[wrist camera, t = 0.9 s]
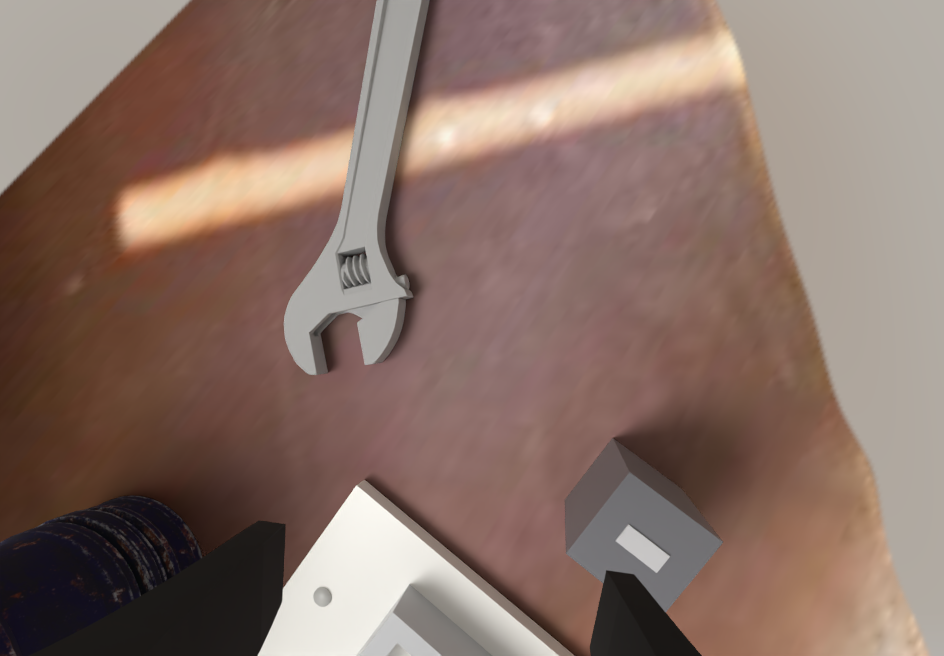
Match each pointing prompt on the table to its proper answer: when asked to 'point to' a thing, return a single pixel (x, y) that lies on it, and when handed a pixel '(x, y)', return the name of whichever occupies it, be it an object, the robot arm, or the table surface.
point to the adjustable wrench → (365, 205)
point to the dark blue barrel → (86, 569)
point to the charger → (636, 525)
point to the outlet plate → (394, 595)
